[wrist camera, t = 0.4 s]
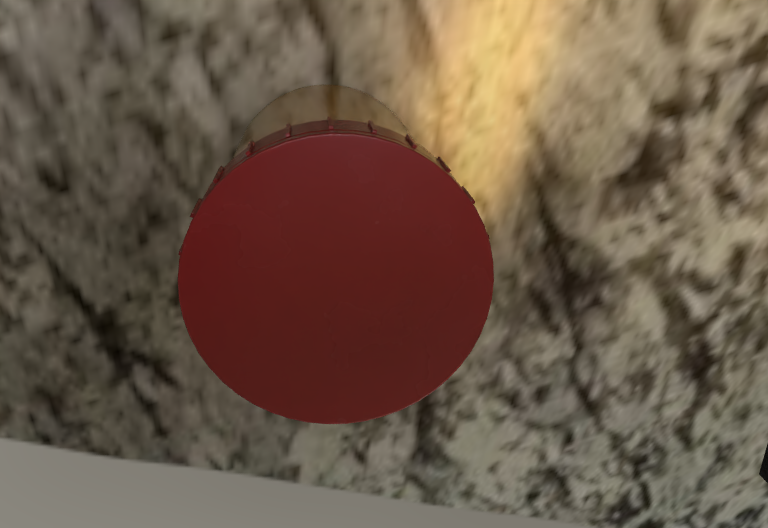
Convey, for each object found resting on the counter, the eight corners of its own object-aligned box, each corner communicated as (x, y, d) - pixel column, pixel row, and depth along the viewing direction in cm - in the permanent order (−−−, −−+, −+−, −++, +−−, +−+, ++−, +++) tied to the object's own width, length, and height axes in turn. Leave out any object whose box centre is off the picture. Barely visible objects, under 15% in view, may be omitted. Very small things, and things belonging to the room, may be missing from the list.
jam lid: (185, 383, 20) (174, 420, 19) (189, 102, 18) (176, 114, 16) (457, 395, 21) (470, 431, 20) (501, 131, 19) (521, 146, 17)
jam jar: (230, 258, 29) (191, 400, 19) (237, 74, 26) (195, 128, 17) (407, 270, 30) (456, 410, 20) (430, 94, 27) (499, 156, 17)
